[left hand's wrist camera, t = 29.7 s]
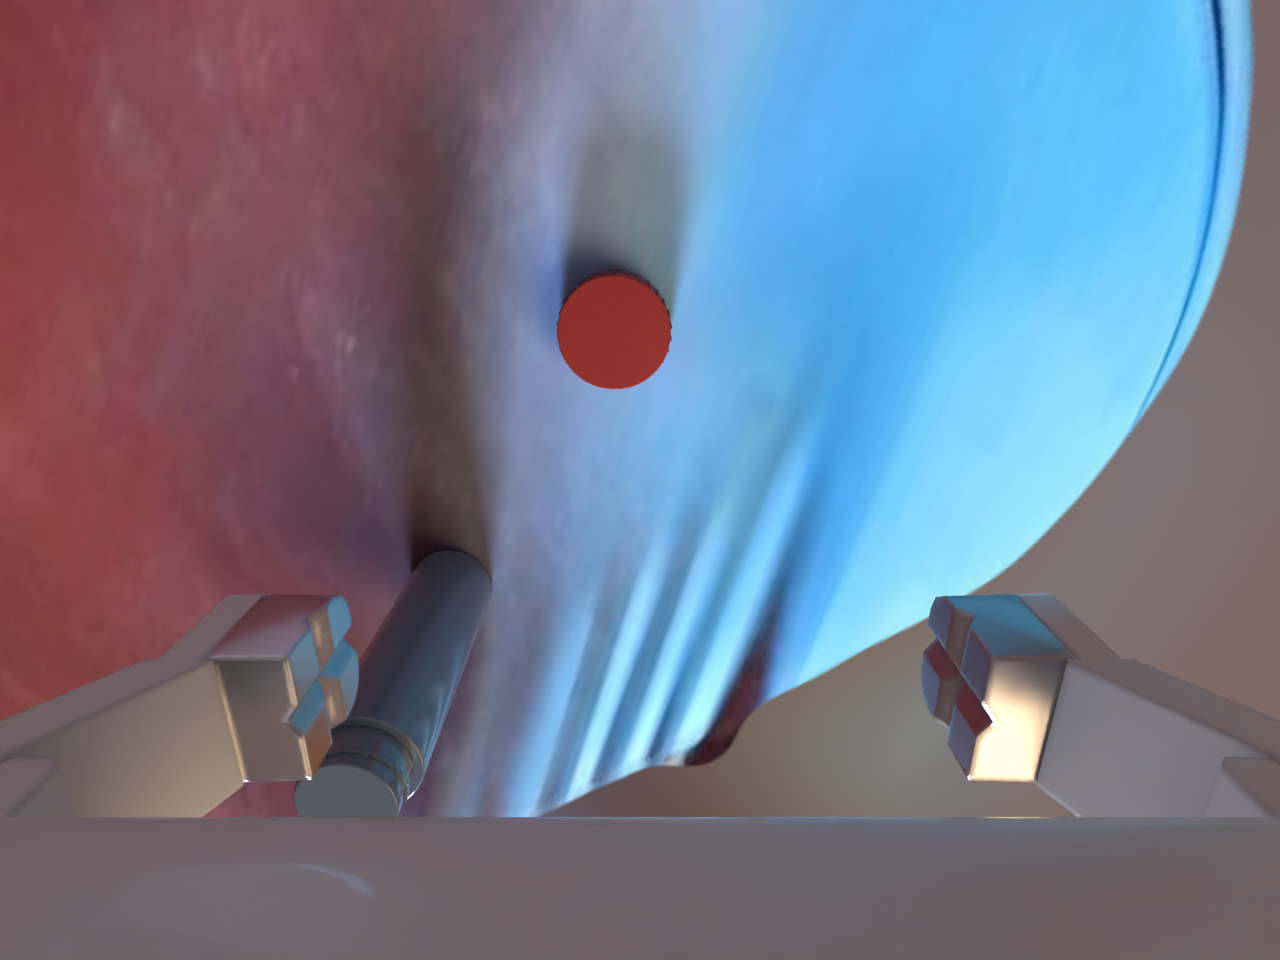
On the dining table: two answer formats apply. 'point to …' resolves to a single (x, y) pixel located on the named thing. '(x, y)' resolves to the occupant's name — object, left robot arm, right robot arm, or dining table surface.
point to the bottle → (401, 693)
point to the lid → (614, 330)
